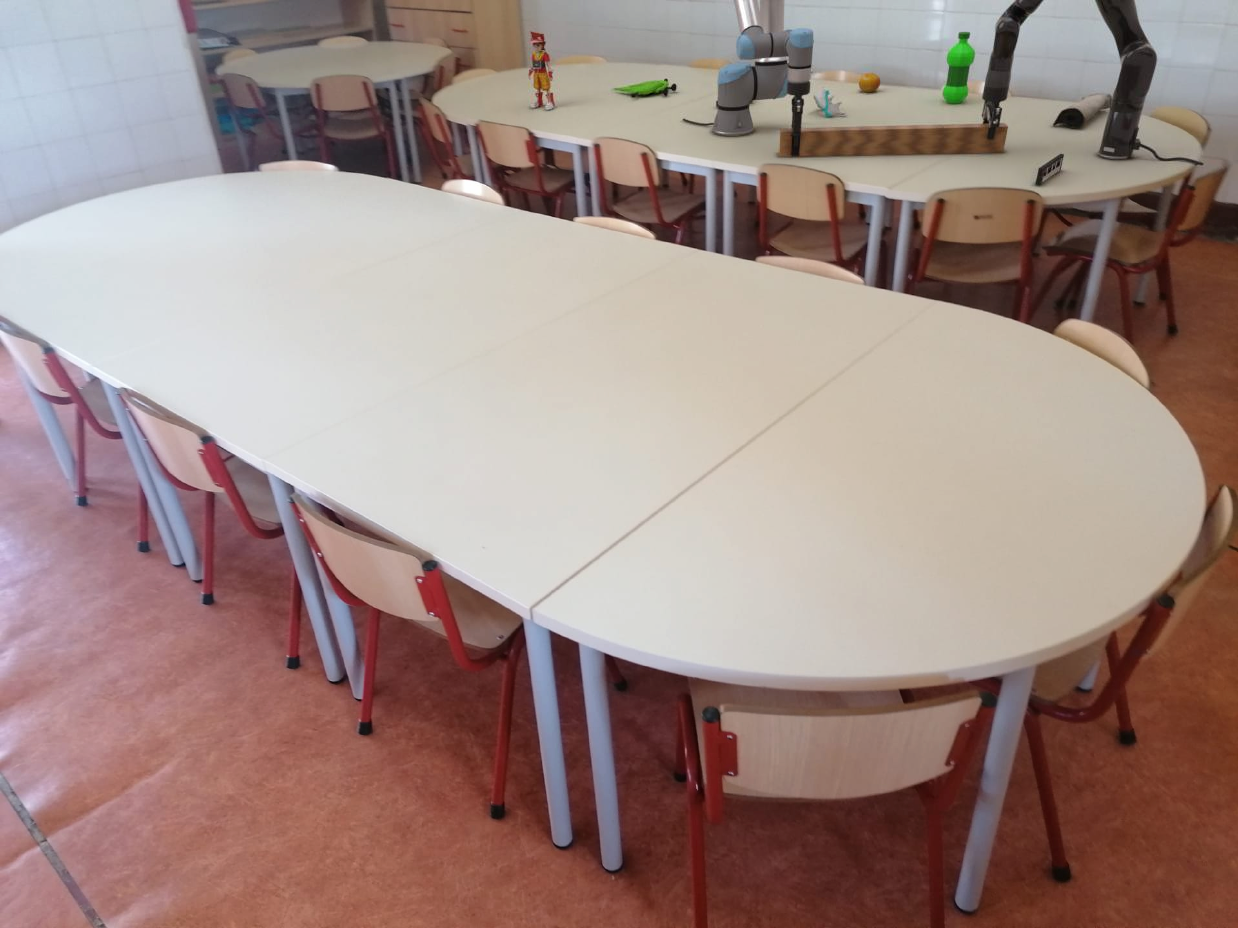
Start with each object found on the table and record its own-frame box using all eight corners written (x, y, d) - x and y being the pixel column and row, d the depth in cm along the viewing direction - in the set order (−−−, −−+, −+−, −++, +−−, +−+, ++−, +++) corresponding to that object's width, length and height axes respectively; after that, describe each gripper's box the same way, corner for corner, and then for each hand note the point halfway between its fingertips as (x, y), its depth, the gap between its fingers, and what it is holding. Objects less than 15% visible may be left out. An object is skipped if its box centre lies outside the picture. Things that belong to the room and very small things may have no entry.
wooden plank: (779, 157, 307) (780, 131, 302) (778, 153, 311) (780, 128, 306) (1003, 152, 298) (1008, 126, 293) (1000, 149, 302) (1005, 123, 297)
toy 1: (525, 109, 381) (517, 32, 364) (534, 104, 388) (527, 28, 371) (550, 110, 377) (543, 32, 360) (559, 105, 384) (553, 28, 367)
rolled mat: (1079, 98, 337) (1104, 81, 329) (1092, 118, 337) (1118, 102, 329) (1048, 120, 320) (1074, 102, 312) (1063, 141, 320) (1088, 124, 312)
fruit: (854, 84, 373) (866, 66, 369) (856, 88, 380) (868, 70, 377) (870, 95, 371) (882, 77, 368) (872, 98, 379) (884, 81, 376)
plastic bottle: (973, 101, 354) (984, 32, 339) (955, 106, 349) (966, 36, 335) (952, 97, 361) (962, 29, 346) (934, 102, 356) (944, 33, 342)
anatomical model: (809, 86, 352) (834, 80, 351) (812, 113, 358) (836, 106, 357) (818, 95, 340) (845, 88, 339) (822, 123, 346) (847, 116, 345)
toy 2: (686, 85, 398) (631, 84, 414) (685, 72, 395) (629, 72, 411) (651, 104, 381) (596, 103, 397) (650, 92, 378) (594, 91, 394)
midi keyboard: (1039, 185, 269) (1043, 168, 266) (1035, 184, 270) (1038, 168, 267) (1060, 170, 279) (1064, 154, 277) (1056, 169, 280) (1060, 153, 277)
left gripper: (812, 86, 287) (807, 160, 300) (809, 75, 301) (804, 146, 315) (788, 87, 288) (784, 161, 301) (786, 75, 302) (782, 146, 316)
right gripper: (1014, 89, 282) (1004, 141, 291) (1003, 79, 294) (994, 130, 303) (989, 89, 283) (980, 142, 292) (980, 79, 295) (971, 130, 304)
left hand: (794, 153), depth 308 cm, fingers closed on wooden plank, 4 cm apart
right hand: (987, 136), depth 298 cm, fingers open, 8 cm apart
